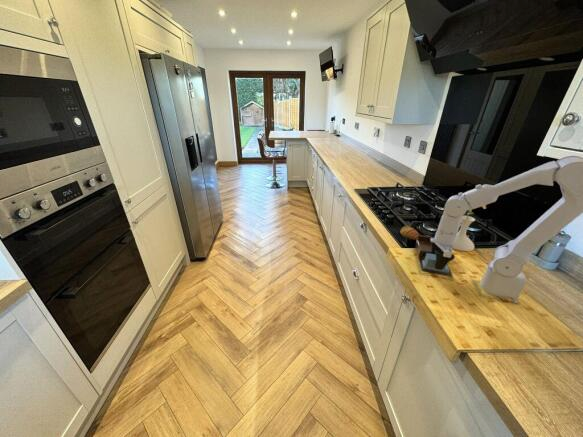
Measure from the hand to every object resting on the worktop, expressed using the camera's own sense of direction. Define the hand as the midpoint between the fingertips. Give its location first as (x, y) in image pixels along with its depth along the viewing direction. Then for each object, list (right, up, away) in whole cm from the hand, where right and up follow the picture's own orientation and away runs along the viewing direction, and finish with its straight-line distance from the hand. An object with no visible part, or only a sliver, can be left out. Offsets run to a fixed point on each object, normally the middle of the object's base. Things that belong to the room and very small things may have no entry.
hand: (436, 262), depth 86 cm
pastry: (+2, +8, +24) cm, 25 cm away
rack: (+2, -1, +6) cm, 6 cm away
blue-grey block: (0, -2, +1) cm, 2 cm away
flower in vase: (+20, +4, +16) cm, 26 cm away
